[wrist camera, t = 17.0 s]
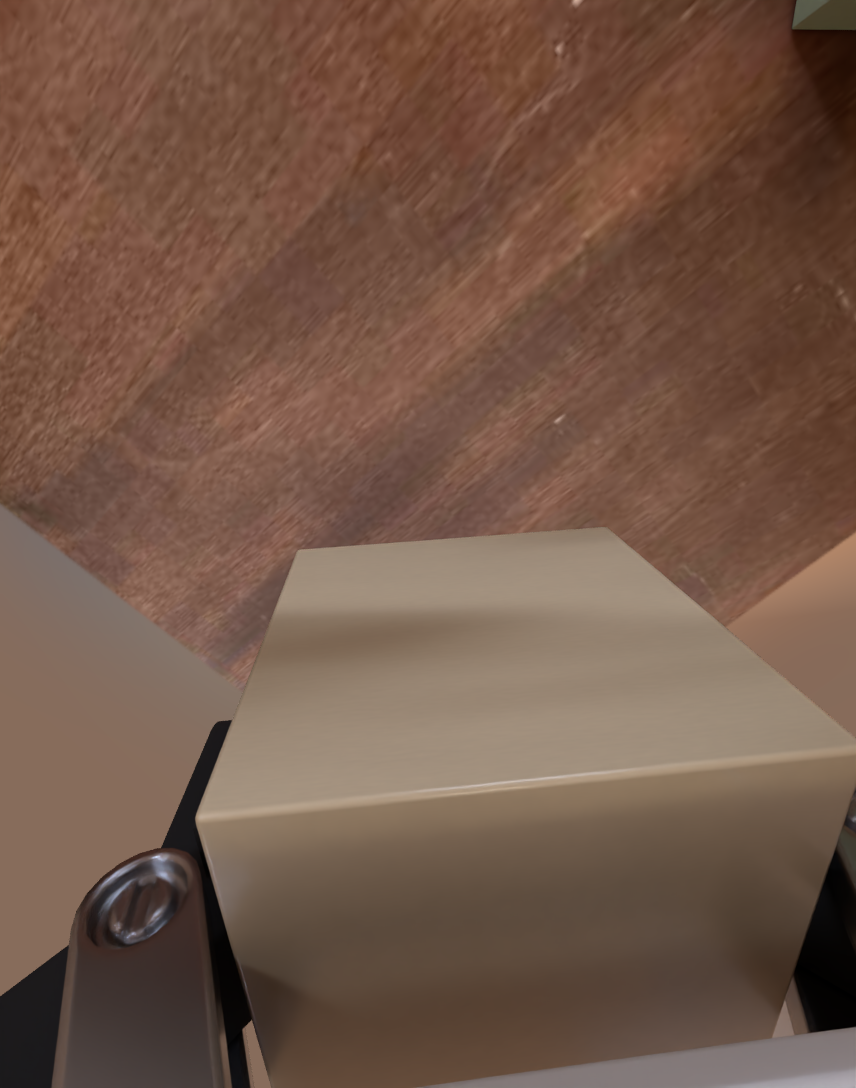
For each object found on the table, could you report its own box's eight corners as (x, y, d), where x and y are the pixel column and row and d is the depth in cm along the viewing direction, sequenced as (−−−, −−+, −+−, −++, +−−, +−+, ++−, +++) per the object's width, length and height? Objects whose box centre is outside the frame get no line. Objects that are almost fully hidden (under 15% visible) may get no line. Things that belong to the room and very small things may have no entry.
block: (587, 763, 13) (752, 1105, 7) (332, 789, 12) (293, 1172, 7) (607, 525, 10) (874, 747, 5) (296, 548, 10) (189, 818, 4)
